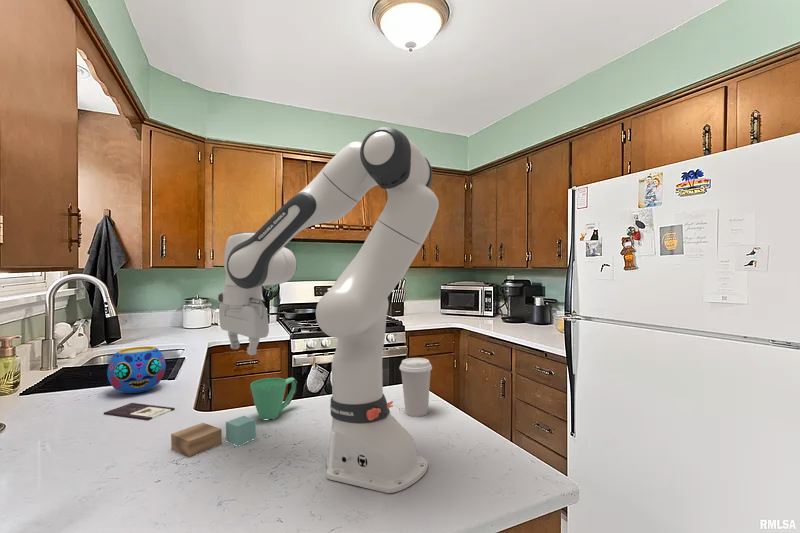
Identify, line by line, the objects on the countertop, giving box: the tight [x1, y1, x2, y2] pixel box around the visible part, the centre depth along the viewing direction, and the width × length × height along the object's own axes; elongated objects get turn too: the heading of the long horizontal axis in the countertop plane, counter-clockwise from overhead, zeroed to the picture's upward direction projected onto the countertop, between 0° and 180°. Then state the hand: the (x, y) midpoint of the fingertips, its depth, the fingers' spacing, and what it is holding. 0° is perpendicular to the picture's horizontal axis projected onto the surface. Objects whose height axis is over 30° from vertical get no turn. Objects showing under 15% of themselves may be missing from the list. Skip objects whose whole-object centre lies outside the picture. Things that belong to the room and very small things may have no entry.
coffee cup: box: [399, 357, 433, 418], centre depth 117 cm, size 10×10×15 cm
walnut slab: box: [170, 422, 223, 458], centre depth 97 cm, size 8×8×4 cm
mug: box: [249, 377, 298, 420], centre depth 118 cm, size 15×10×10 cm
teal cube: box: [225, 415, 257, 447], centre depth 100 cm, size 5×5×5 cm
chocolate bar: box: [103, 402, 176, 421], centre depth 122 cm, size 9×1×18 cm
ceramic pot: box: [106, 345, 167, 394], centre depth 144 cm, size 18×18×15 cm
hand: (243, 351), depth 102 cm, fingers open, 8 cm apart
